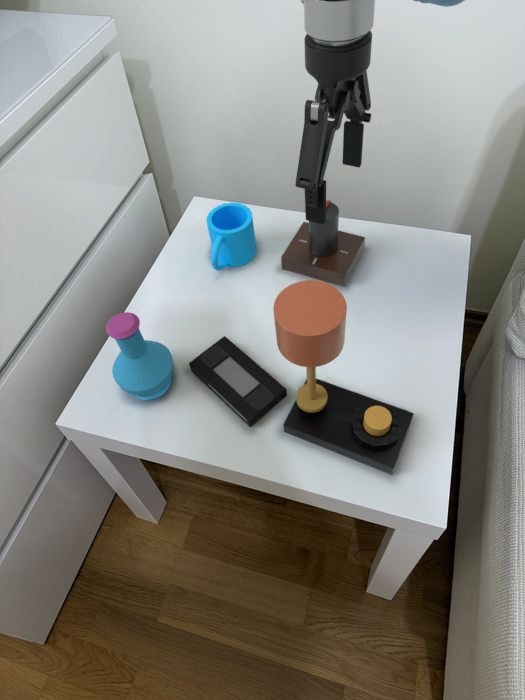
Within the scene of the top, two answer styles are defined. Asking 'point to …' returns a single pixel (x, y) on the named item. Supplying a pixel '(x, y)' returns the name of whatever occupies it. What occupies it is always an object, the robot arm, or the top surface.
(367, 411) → the switch
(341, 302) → the lamp
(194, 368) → the vhs tape
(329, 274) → the dimmer panel
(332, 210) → the dimmer
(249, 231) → the mug
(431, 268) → the top surface
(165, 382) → the perfume bottle
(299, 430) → the lamp base
